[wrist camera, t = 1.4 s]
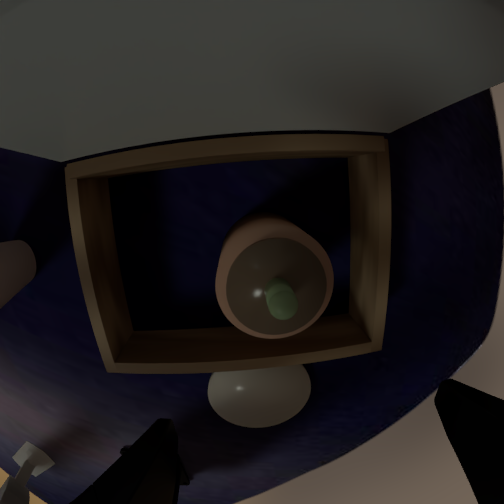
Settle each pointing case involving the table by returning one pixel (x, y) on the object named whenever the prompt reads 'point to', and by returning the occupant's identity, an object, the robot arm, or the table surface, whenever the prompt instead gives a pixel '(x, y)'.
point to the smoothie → (15, 268)
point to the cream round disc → (259, 395)
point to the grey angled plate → (233, 67)
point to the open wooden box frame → (231, 338)
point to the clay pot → (272, 277)
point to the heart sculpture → (24, 474)
